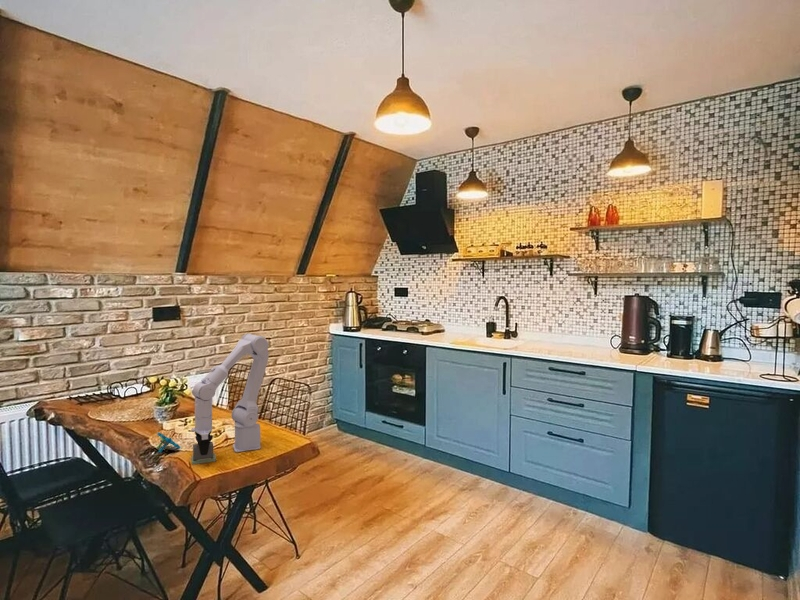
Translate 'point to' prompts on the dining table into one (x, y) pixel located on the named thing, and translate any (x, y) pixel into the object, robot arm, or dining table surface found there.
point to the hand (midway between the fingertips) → (203, 452)
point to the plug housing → (197, 452)
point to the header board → (203, 460)
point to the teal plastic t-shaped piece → (166, 442)
